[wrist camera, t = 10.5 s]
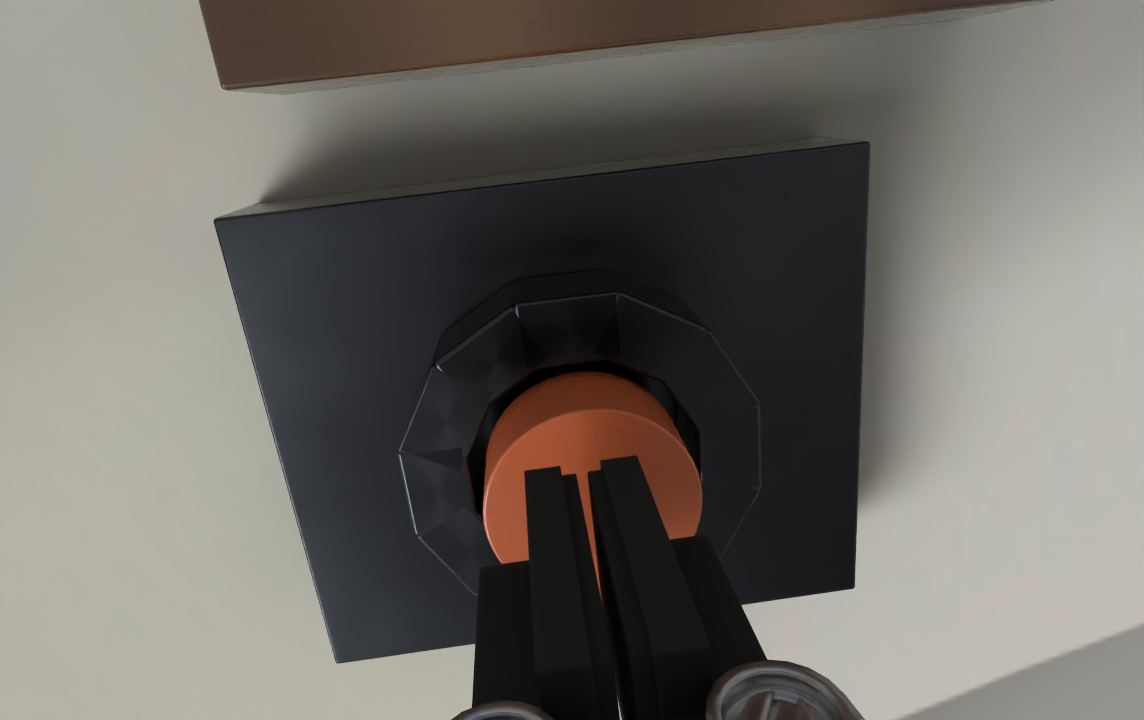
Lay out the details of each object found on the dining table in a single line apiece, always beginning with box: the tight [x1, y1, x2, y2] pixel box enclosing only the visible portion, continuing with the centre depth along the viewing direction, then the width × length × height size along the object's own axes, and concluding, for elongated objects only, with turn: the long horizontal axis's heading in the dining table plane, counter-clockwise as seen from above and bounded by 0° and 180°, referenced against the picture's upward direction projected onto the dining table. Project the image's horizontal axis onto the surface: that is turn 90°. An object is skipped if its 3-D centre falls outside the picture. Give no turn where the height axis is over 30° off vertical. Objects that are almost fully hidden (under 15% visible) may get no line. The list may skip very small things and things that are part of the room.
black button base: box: [214, 137, 870, 663], centre depth 15 cm, size 12×10×4 cm
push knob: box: [483, 371, 702, 596], centre depth 12 cm, size 4×4×2 cm
